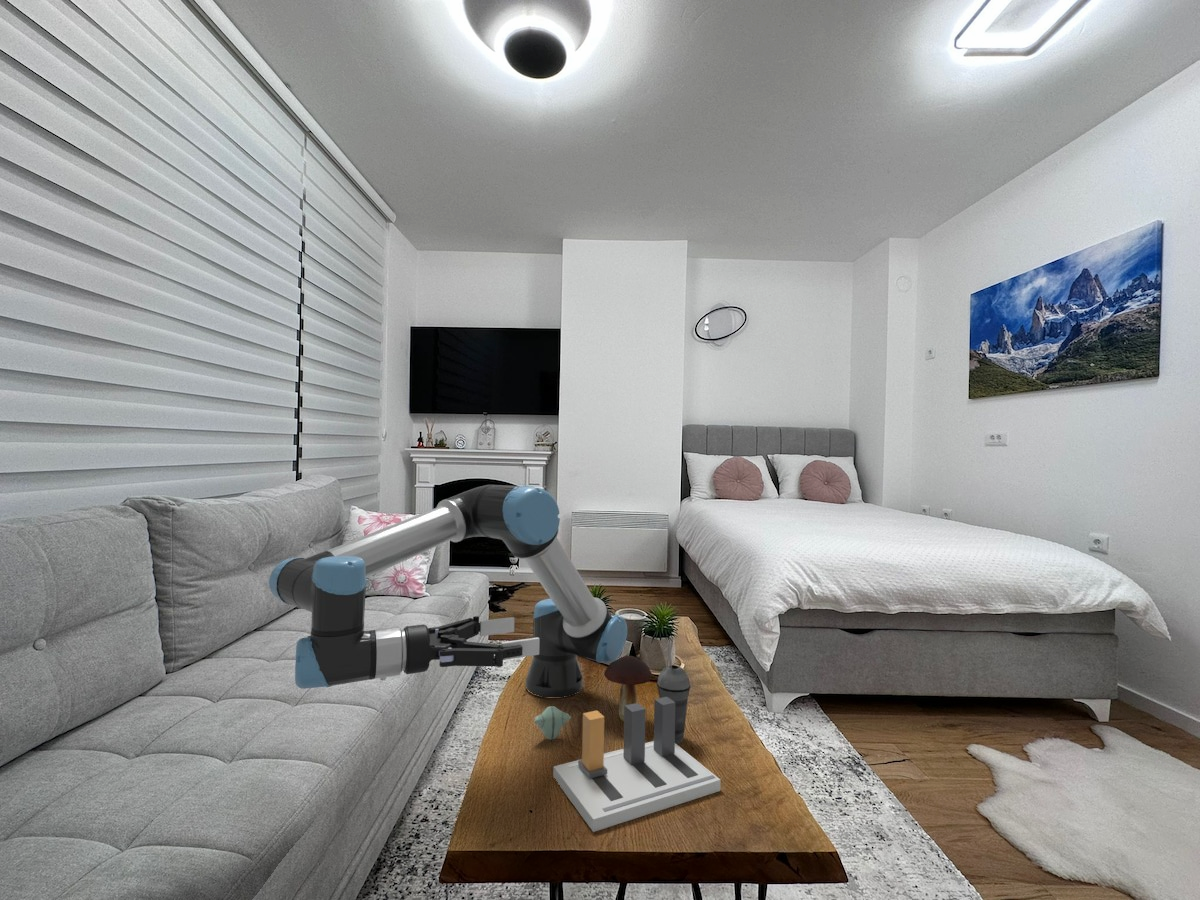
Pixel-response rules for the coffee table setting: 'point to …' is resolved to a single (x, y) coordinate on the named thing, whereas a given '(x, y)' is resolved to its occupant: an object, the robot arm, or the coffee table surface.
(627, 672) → the decorative mushroom
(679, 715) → the beverage cup
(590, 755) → the breaker handle
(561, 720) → the green toy bird
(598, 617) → the robot arm
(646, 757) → the slotted peg board
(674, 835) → the coffee table surface
